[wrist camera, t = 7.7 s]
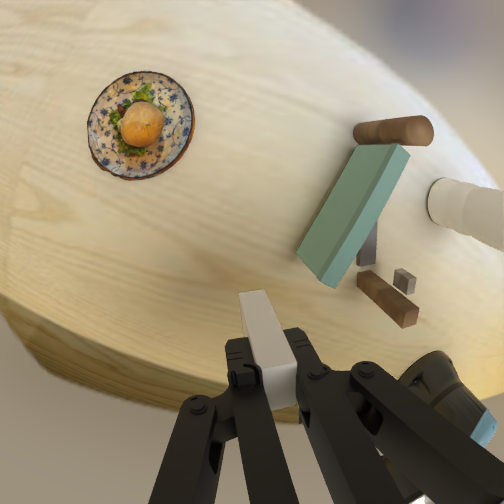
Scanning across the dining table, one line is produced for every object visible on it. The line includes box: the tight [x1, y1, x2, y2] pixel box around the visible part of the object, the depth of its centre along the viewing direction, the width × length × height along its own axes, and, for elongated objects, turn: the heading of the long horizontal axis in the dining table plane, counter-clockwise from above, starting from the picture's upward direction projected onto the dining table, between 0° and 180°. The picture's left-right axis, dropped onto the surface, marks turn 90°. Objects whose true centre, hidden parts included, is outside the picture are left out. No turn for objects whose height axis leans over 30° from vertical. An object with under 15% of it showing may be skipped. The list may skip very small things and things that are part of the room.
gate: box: [296, 143, 410, 289], centre depth 27 cm, size 14×2×8 cm, turn 151°
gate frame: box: [353, 115, 434, 329], centre depth 28 cm, size 21×4×11 cm, turn 6°
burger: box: [87, 71, 195, 180], centre depth 23 cm, size 12×12×8 cm
